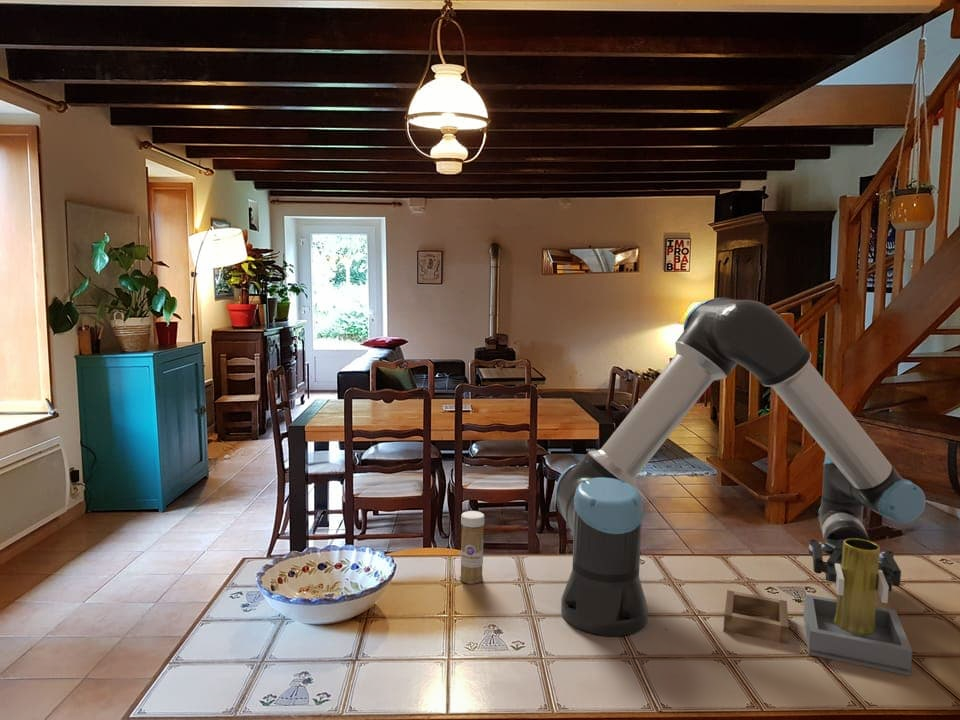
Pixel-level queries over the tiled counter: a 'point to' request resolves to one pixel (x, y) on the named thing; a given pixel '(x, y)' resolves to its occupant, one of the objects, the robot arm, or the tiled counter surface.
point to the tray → (857, 638)
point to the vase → (858, 587)
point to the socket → (752, 624)
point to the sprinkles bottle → (472, 547)
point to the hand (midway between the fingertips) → (862, 590)
